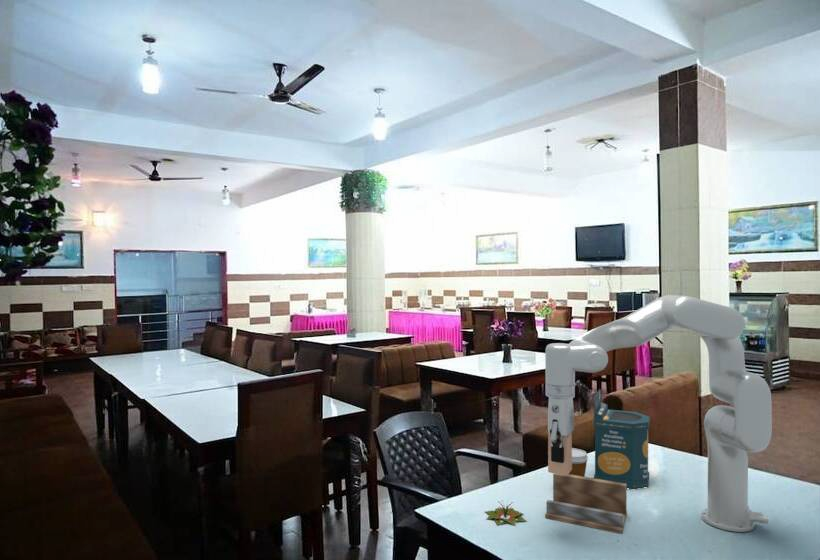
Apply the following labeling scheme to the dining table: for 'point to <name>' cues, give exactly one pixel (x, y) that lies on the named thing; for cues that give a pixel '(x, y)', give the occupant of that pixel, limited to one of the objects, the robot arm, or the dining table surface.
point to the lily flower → (505, 515)
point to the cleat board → (588, 502)
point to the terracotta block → (567, 464)
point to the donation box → (621, 445)
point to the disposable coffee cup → (578, 462)
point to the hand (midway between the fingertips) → (560, 457)
